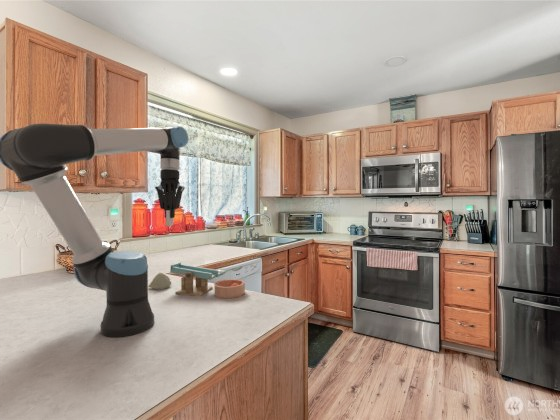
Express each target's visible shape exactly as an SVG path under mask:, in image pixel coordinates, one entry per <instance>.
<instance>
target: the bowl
mask: <svg viewBox="0 0 560 420" xmlns="http://www.w3.org/2000/svg"><path fill="white" fill-rule="evenodd" d="M234 283H237V284H239V285H238V286H233V287H231V285H232V284H234ZM213 285H214V286H213V287H214V296H215V297H217V298H220V299H235V298H239V297H242V296H243V295H244V294H245V291H246V290H245V289H246V285H245V281H244V280H241V279H235V278H234V279H230V278H229V279H222V280H219V281H217V282H215V283H214V284H213Z"/></svg>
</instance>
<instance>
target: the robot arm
mask: <svg viewBox="0 0 560 420" xmlns="http://www.w3.org/2000/svg"><path fill="white" fill-rule="evenodd" d="M189 140H190V139H189V134H188V131H187V130H186V129H185V128H184V127H182V126H172V127H133V128H131V127H130V128H129V127H127V128H120V127H119V128H88V126H86V125H83V124H59V123H46V122H45V123H33V124H29V125H26V126H23V127H19V128H14V129H12V130H8V131H7V132H6V133H4V134H3V135H1V136H0V163H1V164H2V165H3V166H4V167H5V168H6V169H9V170H10V171H13V172H14V173H15V175H16V177H17V178H18V180H19V181H20V184H22V185H23V184H24V185H27V186H29V187H31V188H32V190H33V191H34V194H35V195H36V196H37V198H38V200H39V202H40V203H41V204H42V206H43V207H44V209H45V211H46V212H47V215H49V217H50V219H51V220H52V222H53V223H54V225H55V227H56V229H57V230H58V232H59V233H60V234H61V236H62V238H63V239H64V241H65V243H66V245H67V246H68V248H69V249H70V250H71V252H72V254H73V256H72V258H71V263H72V265H73V267H74V268H73V275H74V278H75V279H76V281H77V282H78V283H79V284H81V285H83V286H84V287H87V288H90V289H96V290H101V291H104V292H105V293H106V294H105V295H106V307H105V310H104V313H103V317H102V321H101V322H100V334H101V335H102V336H104V337H108V338H120V337H121V338H122V337H128V336H132V335H136V334H139V333H142V332H145V331H147V330H149V329H150V328H152V326H153V325H154V324H155V314H154V312H153V311H152V308H151V303H150V302H149V289H148V288H149V287H148V286H149V285H148V284H149V283H148V281H149V279H148V277H149V276H148V274H149V273H148V271H149V270H148V269H149V264H148V258H147V255H146V254H144V253H143V252H140V251H133V250H131V251H129V250H119V251H118V250H117V251H114V250H113V248H112V245H111V244H110V243H109V242H106V241H103V240H102V239H101V237H100V236H99V233H98V232H97V230H96V228H95V226H94V225H93V223H92V221H91V219H90V218H89V215H88V213H87V212H86V210H85V208H84V207H83V205H82V203H81V201H80V200H79V198H78V197H77V195H76V192H75V191H74V188H73V187H72V186H71V184H70V182H69V181H68V179H67V176H66V173H67V171H68V166H67V165H68V164H72V163H76V162H77V163H78V162H82V161H90V160H93V159H94V158H95V156H96V157H97V156H106V155H107V156H108V155H119V154H127V153H137V152H140V153H141V152H149V153H154V154H158V155H160V162H159V163H160V166H159V167H160V168H159V169H160V173H159V175H160V183H159V185H158V186H157V185H156V186H155V187H154V188H155V189H154V190H156V193H157V198H158V203H159V207H160V209H161V210H164V218H165V227H172V226H174V219H175V215H176V214H175V213H176V212H175V211H176V210H179V209H180V206H181V200H182V197H183V192H184V191H185V189H186V187H185V186H184V185H181V184H180V148H183V147H186V146H187V145H188V143H189Z"/></svg>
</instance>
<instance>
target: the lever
mask: <svg viewBox="0 0 560 420" xmlns="http://www.w3.org/2000/svg"><path fill="white" fill-rule="evenodd" d="M169 271H170V273H171V274H175V275H176V274H177V275H182V276H185V273H186V272H191V273H193V278H196V277H198V278H203V279H208V280H210V281H212V280H213V279H215V278H219V277H220V276H222V275H224V274H226V273H227V270H226V269H225V270H224V269H219V268H218V269H213V268H206V267H200V266H194V265H187V264H183V263H182V261H179V262H176V263H172V264H171V265H170V269H169Z"/></svg>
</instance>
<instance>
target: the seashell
mask: <svg viewBox="0 0 560 420" xmlns="http://www.w3.org/2000/svg"><path fill="white" fill-rule="evenodd" d="M171 285H172V282H171V278H170V277H169V276H168V275H166V274H165V273H164V272H159V273H157V274H156V275H155V276H154V278H153V279H152V281H151V282H150V283H149V285H148V288H150V289H154V290H162V289H163V290H164V289H167V288H169V287H170V286H171Z"/></svg>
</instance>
